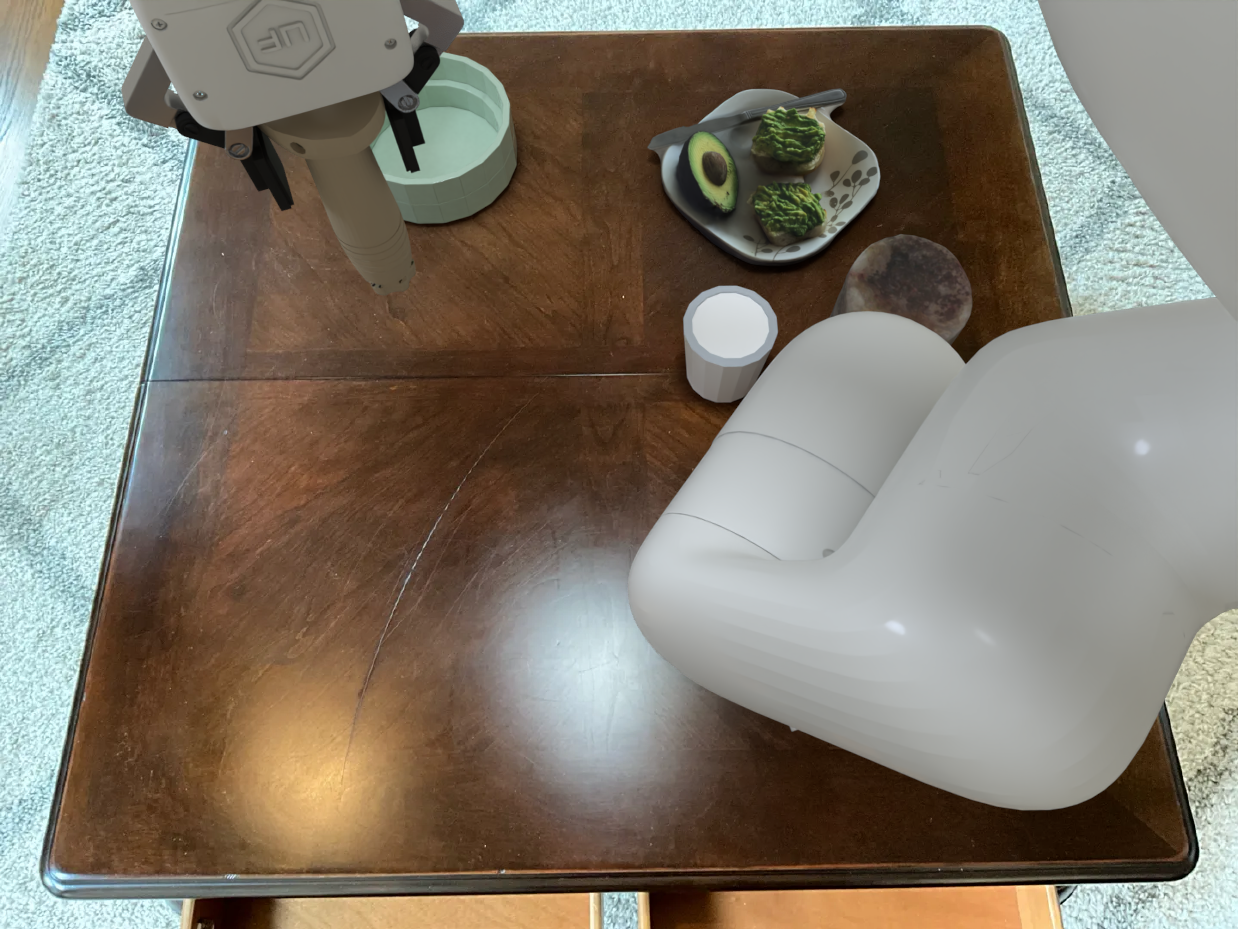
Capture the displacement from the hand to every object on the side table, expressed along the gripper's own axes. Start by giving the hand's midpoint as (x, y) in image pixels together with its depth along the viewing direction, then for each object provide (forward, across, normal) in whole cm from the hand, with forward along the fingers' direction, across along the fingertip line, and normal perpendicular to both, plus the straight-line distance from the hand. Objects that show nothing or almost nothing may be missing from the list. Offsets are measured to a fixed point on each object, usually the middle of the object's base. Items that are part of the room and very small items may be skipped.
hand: (344, 168), depth 47 cm
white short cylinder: (+25, +22, -7) cm, 34 cm away
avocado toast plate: (+25, +32, +9) cm, 41 cm away
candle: (+25, +27, -15) cm, 40 cm away
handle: (+10, 0, 0) cm, 10 cm away
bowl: (+25, +6, +21) cm, 33 cm away
